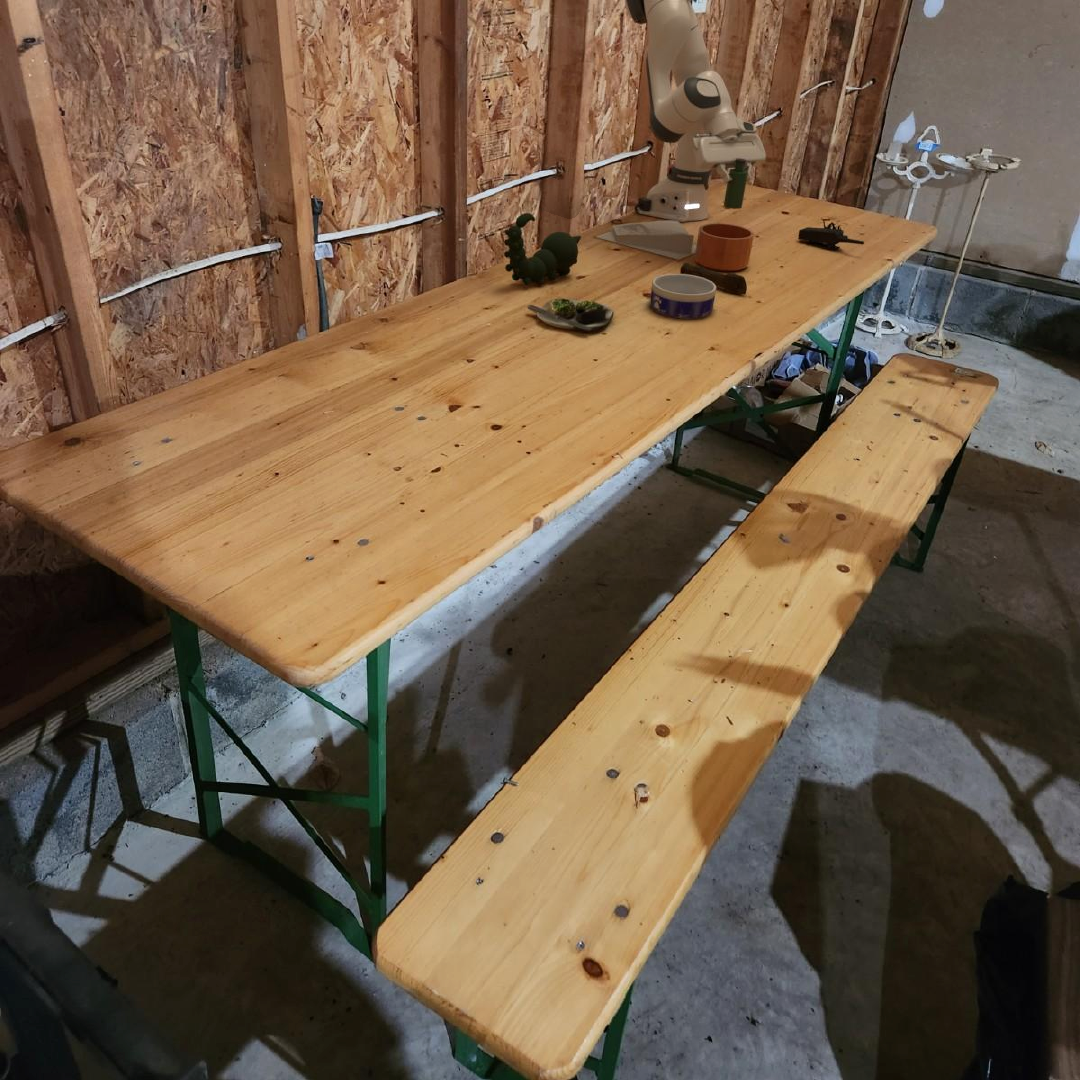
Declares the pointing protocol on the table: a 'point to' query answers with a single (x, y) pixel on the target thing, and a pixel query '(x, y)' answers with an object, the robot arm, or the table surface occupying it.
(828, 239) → the walkie-talkie
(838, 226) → the creature
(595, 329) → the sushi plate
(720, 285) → the dark brown rough bar
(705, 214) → the robot arm
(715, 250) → the pot
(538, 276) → the toy figurine
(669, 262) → the table surface
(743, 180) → the plant food bottle
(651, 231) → the ramp
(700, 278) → the dog bowl
